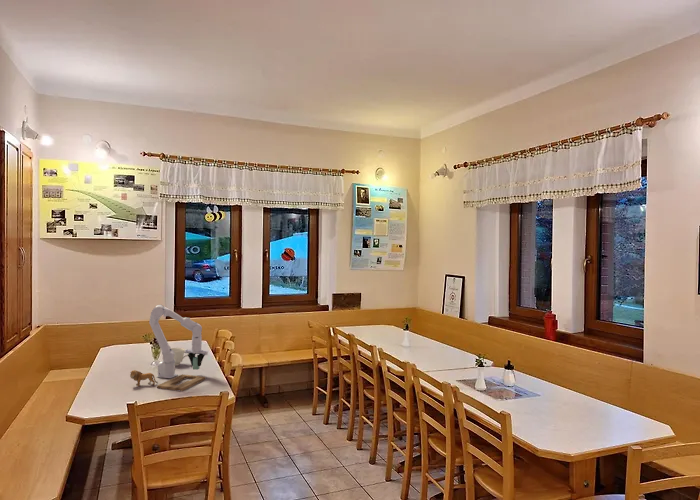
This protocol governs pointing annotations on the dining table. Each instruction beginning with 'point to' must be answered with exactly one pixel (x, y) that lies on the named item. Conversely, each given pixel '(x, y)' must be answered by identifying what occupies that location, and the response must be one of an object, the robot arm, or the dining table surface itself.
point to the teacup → (179, 355)
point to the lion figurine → (142, 377)
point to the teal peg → (195, 363)
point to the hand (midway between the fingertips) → (196, 365)
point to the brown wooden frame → (171, 383)
